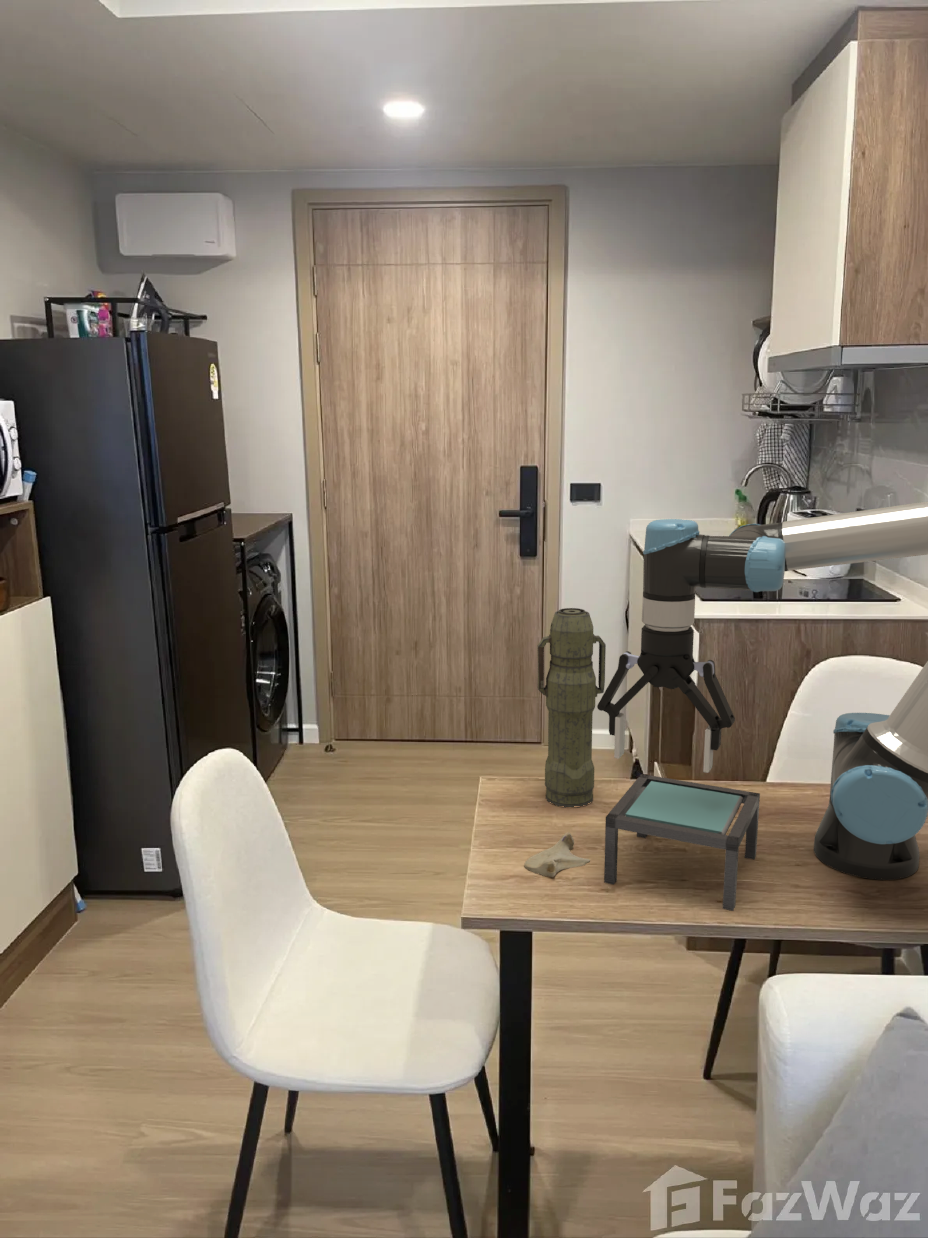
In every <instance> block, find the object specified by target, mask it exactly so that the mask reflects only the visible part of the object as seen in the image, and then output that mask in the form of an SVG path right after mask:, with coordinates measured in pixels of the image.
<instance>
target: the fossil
mask: <svg viewBox="0 0 928 1238" xmlns="http://www.w3.org/2000/svg"><path fill="white" fill-rule="evenodd" d="M574 846H575V840H574V838H573V835H572V834H571V833H570V832H569V831H568V832H565V833H564V834H563V835H562V836H561V837H560V839H559V840H558V841H557V842H556V844H554V845H553V846H551V847H548V848H547V849H544V850H543V851H541V852H540V851H539V852H538V853H536V854H534V855H532V856H530V857H529V858H527V859H526V861H525V862H524V865H523V867H524V869H526V870H528V871H530V872H531V873H534V874H538V875H540V876H544V877H549V878H554V877H555V876H556V874H557V873H558V872H560V871H563V870H566V869H567V870H568V869H572V868H578V867H583V866H586V865H587V864H588V863H590V861H591V860H590V859H589V858H583V857H580V856H578V855H575V854H573V853H572V852H571V850H573V848H574Z"/></svg>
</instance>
